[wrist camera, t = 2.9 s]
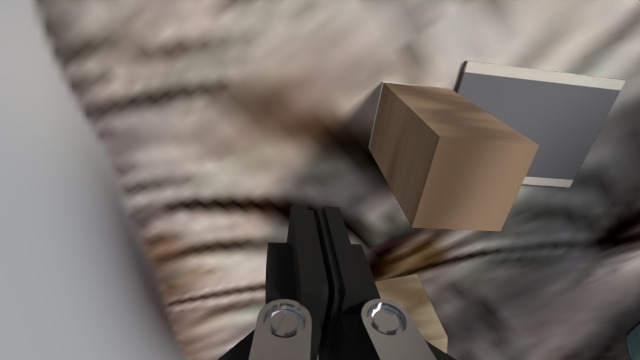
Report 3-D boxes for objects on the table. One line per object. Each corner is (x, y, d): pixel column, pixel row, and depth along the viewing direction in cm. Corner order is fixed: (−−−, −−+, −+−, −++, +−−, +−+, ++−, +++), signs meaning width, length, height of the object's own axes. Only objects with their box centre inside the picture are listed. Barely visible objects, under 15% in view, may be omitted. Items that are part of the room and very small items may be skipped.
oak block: (417, 273, 34) (447, 337, 28) (416, 309, 37) (445, 375, 31) (365, 283, 34) (384, 349, 28) (368, 318, 37) (387, 386, 31)
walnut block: (449, 88, 26) (539, 145, 17) (430, 152, 28) (500, 231, 19) (382, 81, 25) (439, 136, 16) (368, 147, 27) (412, 227, 19)
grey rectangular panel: (621, 79, 27) (625, 80, 27) (567, 185, 31) (569, 187, 31) (466, 60, 25) (468, 61, 25) (429, 176, 29) (431, 178, 29)
